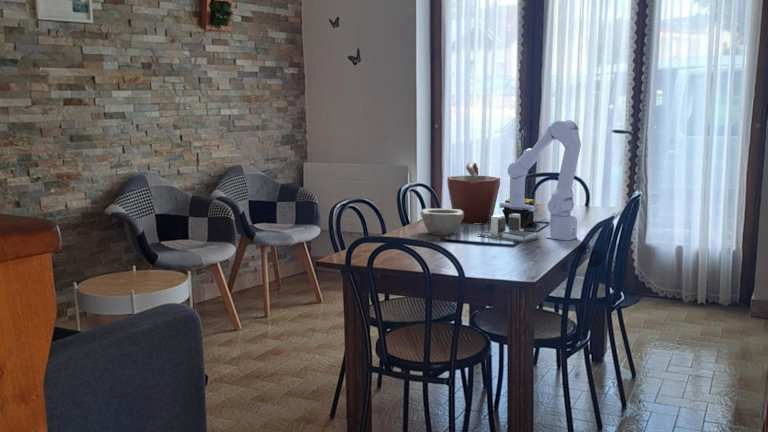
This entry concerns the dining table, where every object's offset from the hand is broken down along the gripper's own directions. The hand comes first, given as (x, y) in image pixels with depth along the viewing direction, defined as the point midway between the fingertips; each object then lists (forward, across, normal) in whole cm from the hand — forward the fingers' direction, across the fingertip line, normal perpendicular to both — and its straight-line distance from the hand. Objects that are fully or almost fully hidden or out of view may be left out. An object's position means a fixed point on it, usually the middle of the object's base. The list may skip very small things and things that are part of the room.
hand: (516, 227), depth 282 cm
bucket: (+2, +28, -11) cm, 30 cm away
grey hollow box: (+2, -3, +12) cm, 12 cm away
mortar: (+2, +21, +21) cm, 30 cm away
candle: (+2, +9, -19) cm, 21 cm away
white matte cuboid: (+2, 0, 0) cm, 2 cm away
